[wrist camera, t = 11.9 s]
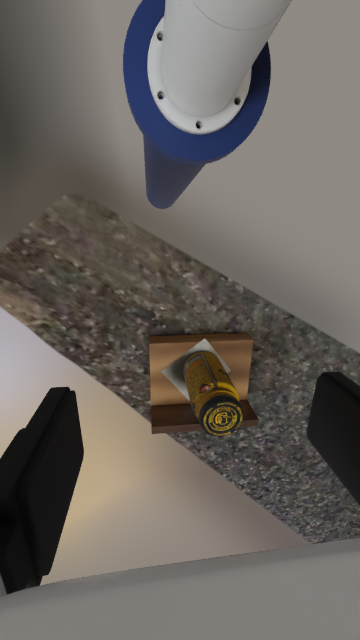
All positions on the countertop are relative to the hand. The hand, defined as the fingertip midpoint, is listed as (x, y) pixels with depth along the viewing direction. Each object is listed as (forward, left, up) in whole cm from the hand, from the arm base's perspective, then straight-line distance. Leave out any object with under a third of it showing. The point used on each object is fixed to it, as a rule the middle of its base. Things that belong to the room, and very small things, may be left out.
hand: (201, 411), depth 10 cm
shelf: (+15, +6, -30) cm, 34 cm away
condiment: (+14, +5, -27) cm, 31 cm away
